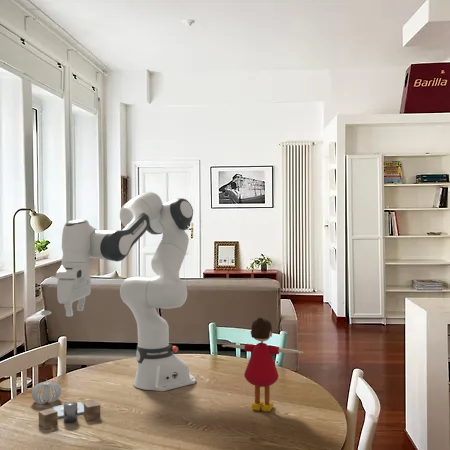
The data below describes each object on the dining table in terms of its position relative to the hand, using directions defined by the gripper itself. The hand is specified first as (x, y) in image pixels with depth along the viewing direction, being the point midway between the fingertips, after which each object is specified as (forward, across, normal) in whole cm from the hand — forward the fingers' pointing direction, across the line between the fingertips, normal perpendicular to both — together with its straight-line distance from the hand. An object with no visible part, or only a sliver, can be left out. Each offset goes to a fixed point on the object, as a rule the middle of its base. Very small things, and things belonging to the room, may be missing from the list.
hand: (75, 313), depth 171 cm
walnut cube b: (+30, +15, -2) cm, 34 cm away
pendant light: (+30, -4, -11) cm, 33 cm away
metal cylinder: (+30, +11, +3) cm, 32 cm away
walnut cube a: (+30, +8, +9) cm, 32 cm away
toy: (+29, -2, +60) cm, 67 cm away
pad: (+30, +4, 0) cm, 30 cm away
